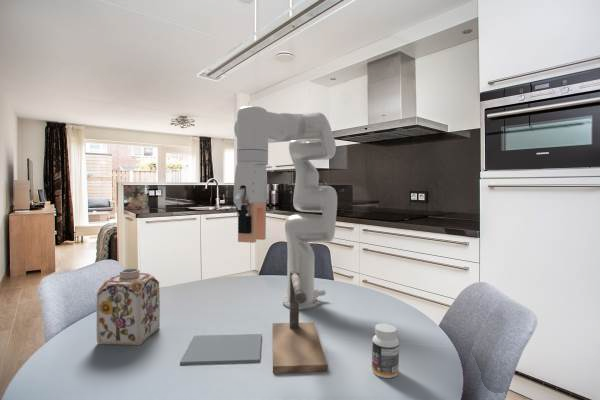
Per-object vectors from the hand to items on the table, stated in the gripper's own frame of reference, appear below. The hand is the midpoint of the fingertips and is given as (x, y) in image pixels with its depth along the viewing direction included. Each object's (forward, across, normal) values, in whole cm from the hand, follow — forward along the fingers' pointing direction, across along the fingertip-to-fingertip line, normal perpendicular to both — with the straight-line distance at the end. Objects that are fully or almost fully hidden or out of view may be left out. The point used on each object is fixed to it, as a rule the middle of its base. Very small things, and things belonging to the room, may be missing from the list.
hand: (252, 230), depth 82 cm
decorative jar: (+30, +2, -35) cm, 46 cm away
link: (+2, 0, 0) cm, 2 cm away
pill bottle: (+30, 0, +32) cm, 44 cm away
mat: (+30, +1, -7) cm, 31 cm away
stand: (+30, -6, +10) cm, 32 cm away
